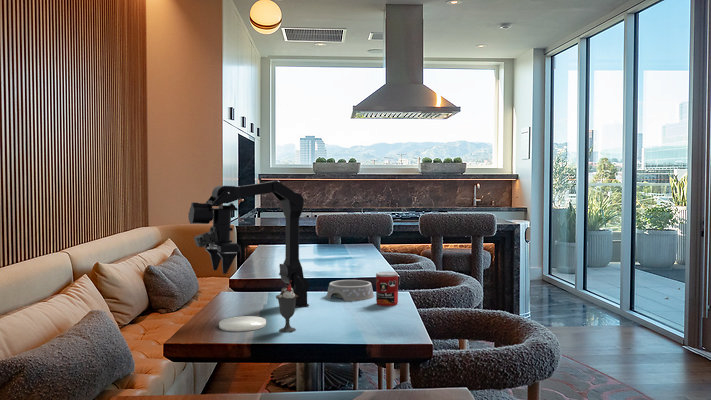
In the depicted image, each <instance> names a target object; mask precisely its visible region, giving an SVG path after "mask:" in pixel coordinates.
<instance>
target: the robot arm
mask: <svg viewBox="0 0 711 400" xmlns="http://www.w3.org/2000/svg"><path fill="white" fill-rule="evenodd" d="M211 192H212V193H211V195H210V197H209V198H208V199H207V201H206V202H205V203H204V202H200V203H199V202H194V201H193V202H191V203H190V207H189V211H188V216H187V217H188V222H189V223H190V224H192V225H194V224H195V225H209V224H210V222H212V226H210V228H209V231H207V232H203V233H201V234H198V235H195V236H193V240H194V243H195V245H196V247H198V248H204V250H205V251H206V252H207V253H208V254H209V257H210V261H211V266H212V270H213V271H217V270H218V269H219V266H220V263H221V269H222V274H223V275H227V274H228V271H229V270H230V268H231V265H232V264H233V261H235V259H236V257H237V255H238V253H240V252H241V251H240V250H241V246H240V245H239V243H238V242H237V243H236V242H233V240H232V239H231V232H233V231H234V230H233V227H231V226H232V225H231V224H232V223H231V222H232V211H235V212H236V211H237V212H238V210H239V208H238V207H237V206H236V205H234V203H233V202H235V201H238V200H240V199H242V198H246V197H247V198H248V197H252V196H260V195H265V194H272V195H273V196H274V197H275V199H277V200H278V201H279V202H280V203H281V208H282V212H283V215H284V218H285V253H284V254H285V259H284V261H283V263H279V266H278V267H279V273H278V276H280V280H281V281H283V283H285V284H284V286H285V287H287V285H291V288H292V289H293V292H294V294H295V295H297V296H299V297H298V298H297V299H296V303H295V308H301V307H309V306H310V304H309V303H308V290H309V288H310V286H311V283H310V282H309V281H308V280H307V279H306V278H305V277H304V270H303V266H302V264H301V261H300V217H301V215H302V213H303V210H304V205H305V198H304V196H302V194H300V193H298V192H295V191H293V189H291V188H290V187H288V186H286V185H285V184H283V183H282V182H281V181H279V180H270V181H267V182H266V181H265V182H260V183H252V184H246V185H238V186H237V185H217V186H215V187H214V188H213V190H212V191H211ZM224 204H225V205H224ZM226 204H227V205H226ZM290 280H292V282H291V283H290V284H289V282H290Z"/></svg>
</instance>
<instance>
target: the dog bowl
mask: <svg viewBox="0 0 711 400" xmlns="http://www.w3.org/2000/svg"><path fill="white" fill-rule="evenodd" d="M332 295H333V297H335V298H337V299H338V298H339V299H343V301H344V302H360V301H367V300H371V299H373V298H374V297H375V293H374V290H373V286H372V282H370V281H368V280H362V279H359V280H358V279H341V280H335V281H334V280H333V281H331V282H329V284H328V288H327V293H326V298H327V299H331V297H332Z"/></svg>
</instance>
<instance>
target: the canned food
mask: <svg viewBox="0 0 711 400" xmlns="http://www.w3.org/2000/svg"><path fill="white" fill-rule="evenodd" d="M375 284H376V285H375V290H376V291H375V294H376V295H375V297H376V299H375V303H376V305H378V306H380V307H392V306H396V305H398V302H399V273H398V272H396V271H378V272H376V275H375Z"/></svg>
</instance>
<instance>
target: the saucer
mask: <svg viewBox="0 0 711 400" xmlns="http://www.w3.org/2000/svg"><path fill="white" fill-rule="evenodd" d="M266 325H267V319H266V318H264V317H260V316H255V315H252V316H251V315H248V316H247V315H246V316H245V315H244V316H242V315H241V316H234V317H229V318H224V319H221V320H220V321H219V322H218V327H219V329H220V330H223V331H226V332H250V331H255V330H259V329H263V328H264V327H266Z"/></svg>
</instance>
